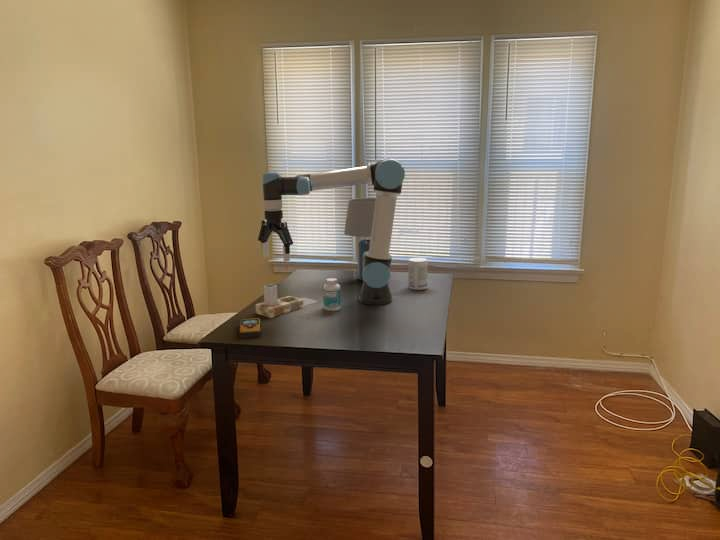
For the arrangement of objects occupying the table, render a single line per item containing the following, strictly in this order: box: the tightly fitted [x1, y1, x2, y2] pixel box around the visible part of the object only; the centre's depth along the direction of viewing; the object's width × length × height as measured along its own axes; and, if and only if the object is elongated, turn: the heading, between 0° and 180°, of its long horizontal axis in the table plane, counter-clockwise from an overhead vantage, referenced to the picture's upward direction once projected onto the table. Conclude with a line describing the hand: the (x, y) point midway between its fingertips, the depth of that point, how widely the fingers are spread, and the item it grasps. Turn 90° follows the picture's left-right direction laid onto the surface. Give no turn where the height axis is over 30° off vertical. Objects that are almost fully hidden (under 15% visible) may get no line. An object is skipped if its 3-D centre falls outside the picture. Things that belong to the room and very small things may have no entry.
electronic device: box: [238, 317, 262, 339], centre depth 200 cm, size 8×16×3 cm, turn 12°
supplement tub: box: [407, 257, 428, 291], centre depth 260 cm, size 10×10×15 cm
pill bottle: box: [322, 277, 342, 312], centre depth 226 cm, size 8×7×14 cm
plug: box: [263, 283, 279, 307], centre depth 220 cm, size 4×4×13 cm
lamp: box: [343, 197, 376, 282], centre depth 274 cm, size 25×25×43 cm
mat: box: [300, 297, 319, 307], centre depth 237 cm, size 10×10×1 cm
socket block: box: [255, 295, 304, 319], centre depth 224 cm, size 10×18×4 cm, turn 137°
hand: (276, 259), depth 223 cm, fingers open, 13 cm apart
